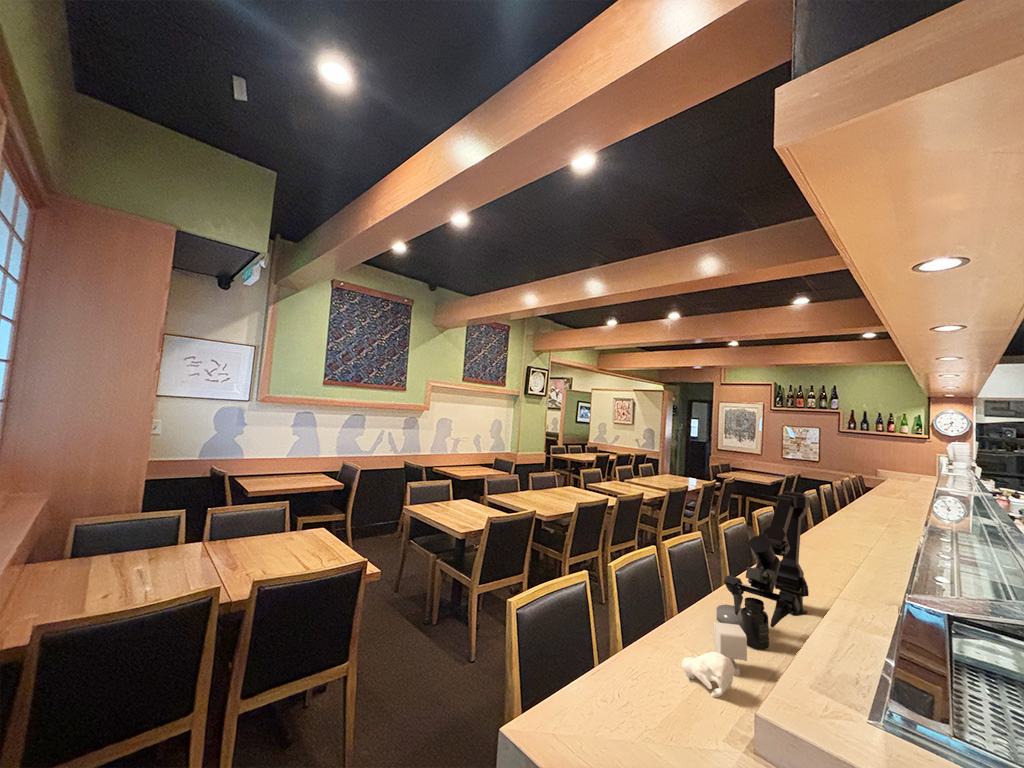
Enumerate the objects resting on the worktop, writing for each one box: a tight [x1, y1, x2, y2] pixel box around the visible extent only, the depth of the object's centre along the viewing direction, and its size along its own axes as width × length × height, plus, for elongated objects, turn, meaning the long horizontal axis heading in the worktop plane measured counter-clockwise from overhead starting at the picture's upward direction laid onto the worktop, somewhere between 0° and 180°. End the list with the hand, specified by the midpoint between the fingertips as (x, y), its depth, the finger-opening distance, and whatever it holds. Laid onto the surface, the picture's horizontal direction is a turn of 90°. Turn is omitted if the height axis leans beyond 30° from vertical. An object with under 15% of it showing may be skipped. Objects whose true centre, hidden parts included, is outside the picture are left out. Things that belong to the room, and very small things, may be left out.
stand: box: [716, 604, 744, 628], centre depth 133 cm, size 10×10×3 cm
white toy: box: [681, 651, 735, 699], centre depth 101 cm, size 6×8×12 cm
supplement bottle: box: [741, 596, 770, 651], centre depth 120 cm, size 7×7×12 cm
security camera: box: [713, 621, 748, 677], centre depth 108 cm, size 6×7×10 cm
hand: (753, 620), depth 119 cm, fingers open, 9 cm apart
